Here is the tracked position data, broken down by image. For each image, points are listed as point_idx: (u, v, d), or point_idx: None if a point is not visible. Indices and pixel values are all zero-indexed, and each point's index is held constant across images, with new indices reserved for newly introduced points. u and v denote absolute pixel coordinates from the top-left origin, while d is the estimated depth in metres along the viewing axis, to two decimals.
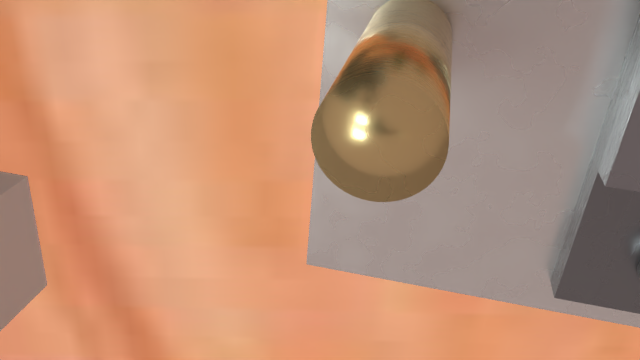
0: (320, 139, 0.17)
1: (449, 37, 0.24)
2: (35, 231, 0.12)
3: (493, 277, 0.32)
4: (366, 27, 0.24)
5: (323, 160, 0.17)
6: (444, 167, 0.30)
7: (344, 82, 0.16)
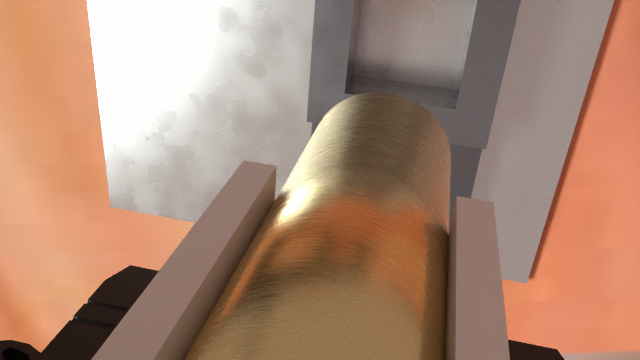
0: None
1: (445, 180, 0.14)
2: None
3: None
4: (298, 160, 0.14)
5: None
6: (204, 113, 0.34)
7: None
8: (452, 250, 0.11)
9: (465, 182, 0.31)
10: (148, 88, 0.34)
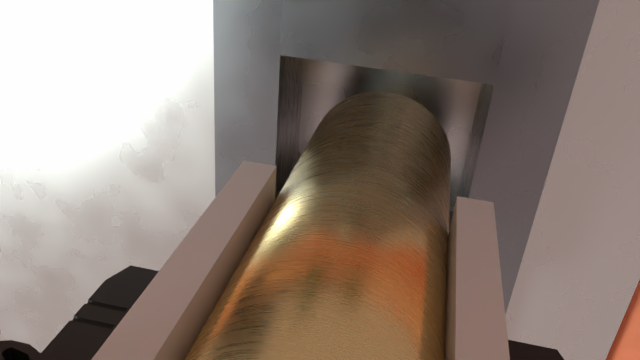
0: None
1: (445, 179, 0.14)
2: None
3: None
4: (299, 159, 0.14)
5: None
6: (82, 227, 0.23)
7: None
8: (452, 250, 0.11)
9: None
10: None
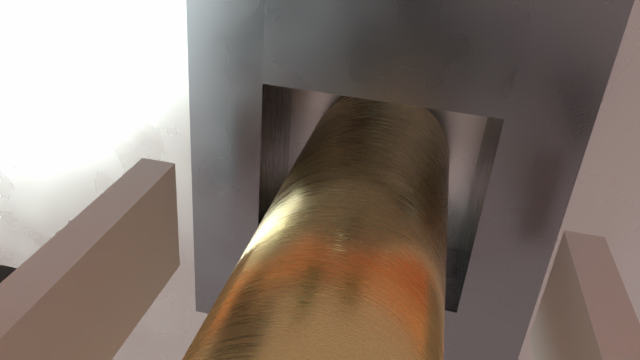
0: None
1: (443, 176, 0.14)
2: (175, 215, 0.13)
3: None
4: (298, 157, 0.14)
5: None
6: None
7: None
8: (569, 292, 0.10)
9: None
10: None
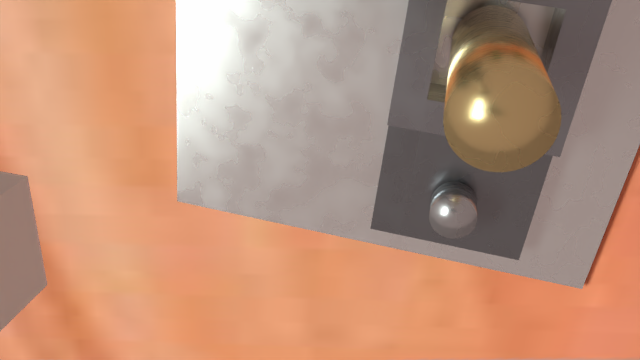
0: (451, 117, 0.21)
1: None
2: (35, 232, 0.12)
3: (328, 213, 0.38)
4: (460, 31, 0.28)
5: (451, 135, 0.21)
6: (279, 114, 0.36)
7: (477, 70, 0.20)
8: None
9: (533, 188, 0.32)
10: (227, 88, 0.36)
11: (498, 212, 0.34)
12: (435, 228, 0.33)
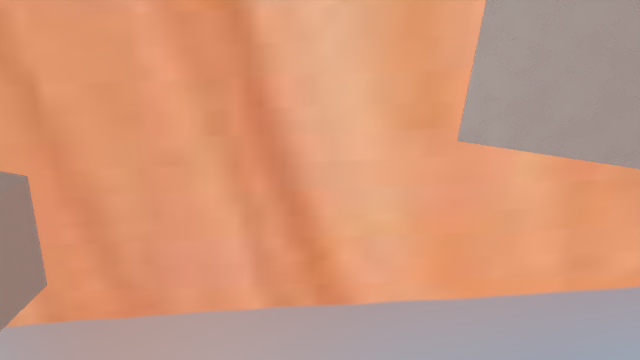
0: None
1: None
2: (35, 231, 0.12)
3: (612, 144, 0.41)
4: None
5: None
6: (582, 51, 0.39)
7: None
8: None
9: None
10: (533, 28, 0.39)
11: None
12: None
